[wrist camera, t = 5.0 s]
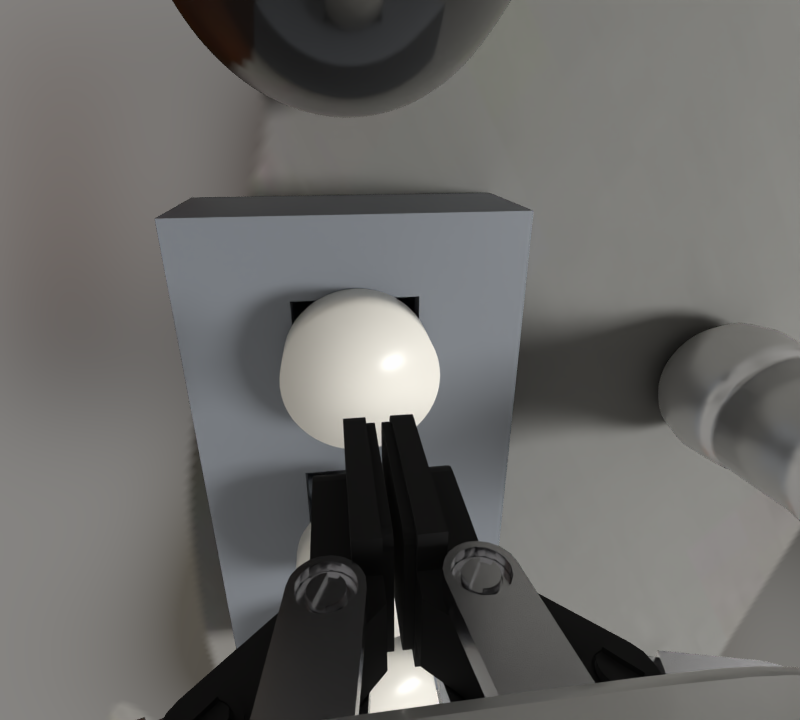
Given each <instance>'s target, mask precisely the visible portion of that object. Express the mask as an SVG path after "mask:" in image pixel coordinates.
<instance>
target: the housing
mask: <svg viewBox="0 0 800 720" xmlns="http://www.w3.org/2000/svg"><path fill="white" fill-rule="evenodd" d="M532 221H533V210H530V209H528V208H526V207H523V206H521V205H518V204H516V203H513V202H511V201H508V200H506V199H504V198H501V197H499V196H496V195H494V194H491V193H447V194H385V195H323V196H261V197H200V198H190V199H189V200H187V201H185V202H183V203H181V204H180V205H178V206H176V207H174V208H173V209H171V210H169V211H167V212H165V213H164V214H162V215H160V216H158V217H157V218H155V223H156V229H157V234H158V239H159V244H160V249H161V255H162V260H163V266H164V271H165V276H166V281H167V287H168V292H169V297H170V302H171V307H172V312H173V318H174V323H175V329H176V334H177V339H178V344H179V350H180V355H181V360H182V366H183V370H184V376H185V381H186V387H187V392H188V397H189V402H190V408H191V413H192V418H193V423H194V429H195V434H196V439H197V445H198V450H199V455H200V460H201V466H202V471H203V476H204V481H205V487H206V492H207V497H208V502H209V508H210V513H211V518H212V523H213V529H214V534H215V539H216V545H217V550H218V555H219V560H220V566H221V571H222V576H223V581H224V587H225V592H226V597H227V602H228V608H229V613H230V618H231V624H232V629H233V634H234V639H235V645H236V649H237V648H238V647H240V646H241V645H242V644H243V643H244V642H245V641H246V640H248V639H249V638H250V637H251V636H252V635H253V634H254V633H256V632H257V631H258V630H259V629H260V628H261V627H262V626H263V625H265V624H266V623H267V622H268V621H269V620H270V619H271V618H273V617H274V616H275V615H276V614H277V613H278V612H279V608H280V605H281V601H282V597H283V593H284V590H285V586H286V584H287V581H288V579H289V577H290V575H291V574H292V573H293V572H294V571H295V570H296V562H297V549H298V544H299V541H300V538H301V536H302V534H303V532H304V530H305V529H306V528H307V526H308V525H309V524H310V523H311V509H312V479H313V476H319V475H325V473H326V471H339V470H345V452H344V448H339V447H334V446H331V445H328V444H325V443H323V442H321V441H319V440H316V439H315V438H313V437H312V436H310V435H308V434H307V433H306V432H305V431H304V430H302V429H301V428H300V427H299V426H298V425H297V424H296V423H295V422H294V420H293V419H292V417H291V416H290V415H289V413H288V411H287V409H286V407H285V405H284V402H283V399H282V396H281V391H280V378H279V377H280V369H281V362H282V357H283V351H284V345H285V341H286V338H287V335H288V333H289V330H290V328H291V326H292V325H293V323H294V322H295V320H296V319H297V317H298V316H299V315H300V314H301V313H302V312H303V311H304V310H305V309H306V308H307V307H308V306H309V305H311V304H312V303H314V302H315V301H316V300H318V299H320V298H322V297H324V296H326V295H328V294H331V293H334V292H337V291H341V290H346V289H370V290H376V291H379V292H383V293H386V294H388V295H391V296H393V297H395V298H396V299H398V300H400V301H401V302H403V303H404V304H405V305H407V306H408V307H409V308H410V309H411V310H412V311H413V312H414V313H415V314H416V316H417V317H418V318H419V320H420V321H421V323H422V325H423V327H424V329H425V331H426V333H427V335H428V337H429V339H430V341H431V343H432V345H433V347H434V349H435V351H436V354H437V357H438V361H439V367H440V383H439V389H438V393H437V396H436V399H435V401H434V404H433V405H432V407H431V409H430V411H429V412H428V414H427V415H426V416H425V418H424V419H423V420H422V421H421V422H420V423H419V424H418V426H417V429H418V433H419V436H420V439H421V443H422V446H423V449H424V453H425V456H426V459H427V462H428V466H429V467H432V466H444V465H449V466H451V468H452V470H453V473H454V475H455V478H456V481H457V484H458V486H459V489H460V492H461V494H462V497H463V500H464V503H465V505H466V508H467V511H468V513H469V516H470V519H471V522H472V524H473V527H474V530H475V532H476V535H477V538H478V541H482V542H489V543H492V544H495V545H497V546H499V539H500V529H501V519H502V510H503V500H504V491H505V481H506V471H507V462H508V452H509V442H510V433H511V423H512V414H513V404H514V394H515V385H516V375H517V365H518V356H519V346H520V337H521V327H522V317H523V308H524V298H525V288H526V279H527V269H528V259H529V250H530V240H531V231H532ZM379 451H380V457H381V462H382V446H379ZM434 681H435V686H436V690H437V689H438V685H437V678H436V677H435V676H434Z"/></svg>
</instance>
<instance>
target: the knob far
mask: <svg viewBox="0 0 800 720" xmlns="http://www.w3.org/2000/svg"><path fill="white" fill-rule="evenodd" d="M387 668H388V671H387V672H386V673H385V675H384V676H383V677H382V678H381V679H380V681H379V682H378V683H377V684H376V686H375V687H374V688H373V689H372V690H371V692H370V697H371V705H370V713H376V712H383V711H391V710H398V709H405V708H413V707H420V706H427V705H434V704H439V701H438V696H437V691H436V686H435V681H434V676H433V675H432V674H430V673H429V672H427V671H426V670H425V669H423V668H422V667H421V666H420V667H415V665H414V659H413V653H412V649H410V650H402V645H401V639H400V636H398V637H395V638H394V652H387Z"/></svg>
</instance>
